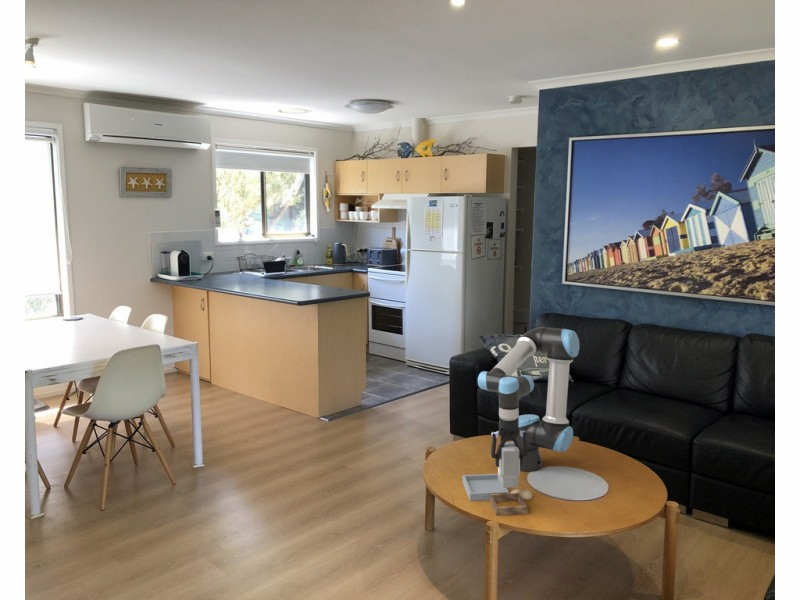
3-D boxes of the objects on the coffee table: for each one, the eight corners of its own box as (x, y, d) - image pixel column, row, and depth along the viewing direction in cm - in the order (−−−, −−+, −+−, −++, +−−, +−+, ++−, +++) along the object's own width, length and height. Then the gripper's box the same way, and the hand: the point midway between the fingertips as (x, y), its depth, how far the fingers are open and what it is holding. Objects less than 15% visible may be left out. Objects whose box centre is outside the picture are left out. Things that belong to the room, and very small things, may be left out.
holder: (519, 499, 247) (519, 492, 247) (527, 514, 235) (527, 506, 235) (489, 501, 247) (489, 494, 246) (496, 515, 235) (496, 508, 234)
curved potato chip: (529, 489, 256) (529, 488, 256) (535, 499, 247) (535, 498, 247) (508, 490, 256) (508, 489, 256) (513, 500, 247) (513, 499, 247)
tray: (498, 480, 266) (498, 473, 265) (508, 499, 248) (508, 492, 248) (462, 481, 265) (462, 475, 264) (469, 500, 247) (469, 493, 247)
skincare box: (498, 479, 244) (496, 442, 242) (515, 477, 245) (514, 440, 242) (503, 489, 236) (501, 450, 233) (521, 487, 236) (519, 448, 234)
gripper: (530, 412, 240) (530, 468, 244) (481, 415, 239) (482, 470, 243) (536, 419, 233) (536, 476, 236) (485, 422, 232) (486, 479, 235)
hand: (508, 473), depth 239 cm, fingers closed on skincare box, 7 cm apart
